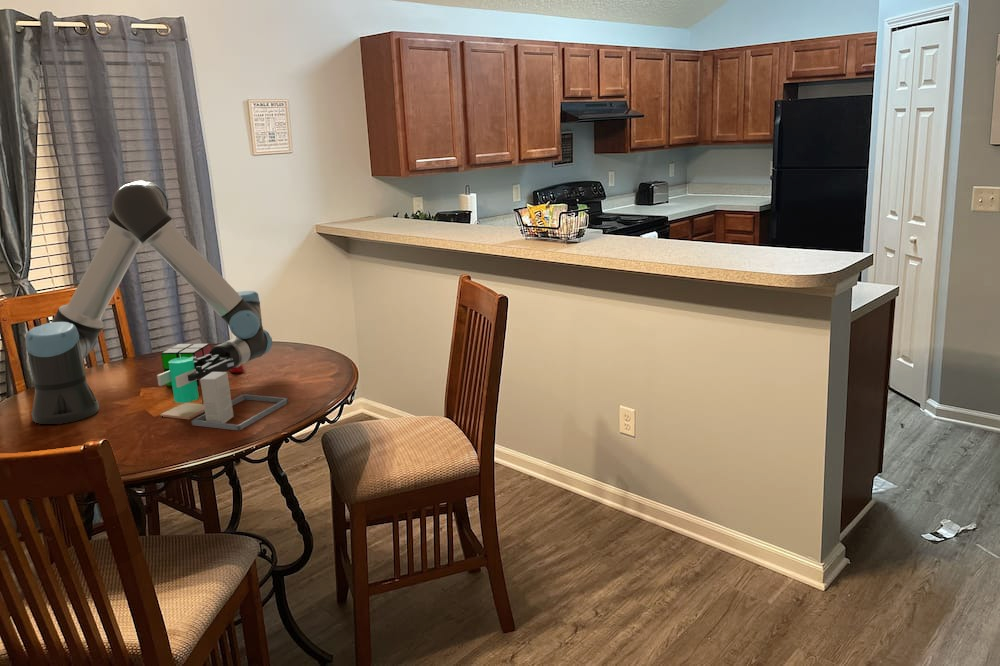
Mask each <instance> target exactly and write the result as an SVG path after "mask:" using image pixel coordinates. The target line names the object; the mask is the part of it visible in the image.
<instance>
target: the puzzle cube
mask: <svg viewBox="0 0 1000 666" xmlns="http://www.w3.org/2000/svg"><path fill="white" fill-rule="evenodd" d="M211 349H212V348H211V344H210V343H177V344H176V345H174V346H171V348H169V349H167V350H165V351H162V352H161V353H160V354H161V355H160V356H161V361H162V368H163V373H164V372H166V371H169V370H170V369H169V363H168V362H169V361H170V360H172V359H175V358H180V356H181V357H187V358H190V357H192V356H196V358H200V357H203V356H204V355H207V354H209V353H210V351H211ZM196 372H197V371H196ZM196 381H197V387H199V386H201V382H200V379H197V380H196ZM165 386H166V387H172V382H169V383H166V384H165Z"/></svg>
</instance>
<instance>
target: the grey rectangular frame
mask: <svg viewBox="0 0 1000 666" xmlns="http://www.w3.org/2000/svg"><path fill="white" fill-rule="evenodd" d="M244 400H249V401H257V402H258V401H259V402H267V403H268V402H269V403H274V405H272V406H269V407H267V408H266V409H264V410H263V411H262V410H261V412H259V413H257V414H255V415H253V416H251V417H250V418H248V419H246V420H245V421H242V422H241V423H238V424H234V423H227V422H226V423H218V422H209V421H206V416H205V413H204V414H203V413H202V414H200V416H199V415H198V416H196V418H195V417H194V418H192V420H191V426H195V427H196V426H197V427H205V428H215V429H222V430H231V431H242V430H243V429H244V428H246V427H248V426H250V425H252V424H254V423H256V422H257V421H259V420H260V419H262V418H264V417H266V416H269V414H271V413H273V412H274V411H275V412H276V410H278V409H280V408H282V407H284V406H285V405H287V404H289V398H288V397H277V396H267V395H255V394H247V393H243V394H241V395H240V396H237V397H235V398H233V399H231V402H232V407H233V406H234V405H235V406H236V404H238V403H240V402H242V401H244Z"/></svg>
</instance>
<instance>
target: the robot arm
mask: <svg viewBox="0 0 1000 666" xmlns="http://www.w3.org/2000/svg"><path fill="white" fill-rule="evenodd" d="M112 198H113V199H112V204H111V206H112V208H111V211H110V212H109V214H108V216H107V218H106V219H107V221H108V224H109V228H108V230H107V232H106V233H105V235H104V236H103V239H102V241H101V242H100V245H99V246H98V249H97V250H96V252H95V253H94V256H93V258H92V259H91V262H90V263H89V265H88V266H87V268H86V271H85V272H84V274H83V276H82V278H81V279H80V281H79V283H78V286H77V288H76V289H75V291H74V293H73V295H72V297H71V299H70V300H69V302H68V303H67V304H62V305H61V306H59V307H58V309H57V311H56V313H54V314H55V315H54V317H53V319H52V320H51V322H47V323H41V324H40V325H38V326H34V327H32V328H30V329H29V330H28V331H27V332H26V334H25V337H24V338H25V349H26V352H27V356H28V357H27V358H28V363H29V366H30V372H31V377H32V381H33V385H34V386H33V387H34V396H33V397H34V398H33V403H32V404H33V405H32V409H31V417H32V422H33V421H34V422H35V423H34V422H33V423H34V424H36V423H39V424H38V425H40V424H57V425H64V424H63V423H65V424H69V422H70V423H74V422H78V421H81V420H84V419H87V418H89V417H91V416H93V415H95V414H97V412H99V411H100V406H99V401H98V399H97V398H96V396H95V394H94V392H93V390H92V389H91V388H90V386H89V384H88V381H87V378H86V377H87V376H86V370H85V366H84V359H85V358H87V356H88V355H89V354H90V353H92V351H93V350H94V348H95V347H96V345H97V344H96V343H97V340H98V339H97V338H98V337H99V335H100V333H101V332H102V330H103V327H104V322H103V319H102V316H103V315H104V313H105V312H106V309H107V308H108V306H109V304H110V302H111V300H112V298H113V297H114V294H115V293H116V291H117V289H118V287H119V286H120V284H121V282H122V280H123V278H124V276H125V274H126V273H127V271H128V269H129V267H130V265H131V263H132V262H133V260H134V258H135V256H136V254H137V252H138V250H139V249H140V247H141V245H147V246H149V247H151V248H152V249H153V250H154V251H155V252H156V253H157V254H158V255H159V257H161V258H162V259H163V260H164V261H165V262H166V263H167V264H168V265H169V266H170V267H171V268H172V269H173V271H175V272H176V273H177V274H178V276H179V277H180V278H182V280H184V281H185V283H187V284H188V285H189V286H190V287H191V289H192V290H194V291H195V293H197V294H198V296H199V297H201V299H203V300H204V302H205V303H206V304H207V305H208V306H209V307H210V308H211V309H212V310H213V311H214V312H215V313H216V314H217V315H218V316H219V317H220V318H221V319H222V320H223V321H224V322H225V323H226V324H227V325H228V327H229V329H230V332H231V333H232V335H234V336H235V337H234V338H232V339H229V340H227V341H224V342H222V343H219V344H217V345H215V346H213V347H212V348H211V351H210V353H209V354H207V355H204V356H203V357H200V358H196V356H192V357H190V358H193V361H194V368H195V369H193V370H192V371H189V372H185V373H183V374H181V375H178V376H176V377H175V378H176V385H177V387H181V386H184V385H186V384H188V383H190V382H193V381H195V380H197V379H201V378H203V377H205V376H206V375H208V374H210V373H211V372H228V371H230V370H231V369H233V368H235V367H239V365H243V364H247V363H248V362H251V361H252V360H255V359H257V358H261V357H262V356H263V355H266V354H267V353H269V351H270V350H272V347H273V338H272V337H271V335H270V333H269V331H267V330H265V329H264V327H263V321H262V312H261V311H262V310H261V301H260V297H259V293H258V292H256V291H255V290H245V291H238V292H237V291H236V290H235V289H234V287H232V286H231V285H230V283H229V282H228V281H227V280H226V279H225V278H224V277H223V276H222V275H221V274H220V273H219V272H218V271H217V270H216V269H215V267H214V266H212V264H210V262H208V260H207V259H205V257H204V256H203V255H202V254H201V253H200V252H199V251H198V249H196V248H195V247H194V246H193V245H192V244H191V242H190V241H189V240H187V238H186V237H185V236H184V235H183V233H181V232H180V231H179V230H178V229H177V228H176V227H175V226H174V219H173V218H172V217H171V215H170V214H169V213H168V212H169V200H168V196H167V195H166V192H165V191H164V189H162V188H161V187H160V186H159V185H157V184H156V183H153V182H151V181H148V180H142V179H141V180H140V179H139V180H135V181H132V182H130V183H126V184H124V185H122V186H121V187H119V188H118V189H117V191H116V192H115V193H114V195H113V197H112ZM196 371H197V372H196ZM156 378H157V385H158V386H159V387H162V386H164V385H166V383H169V382H171V375H170V370H169V371H166V372H164V371H163V372H162V373H158V374H157V375H156Z"/></svg>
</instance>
